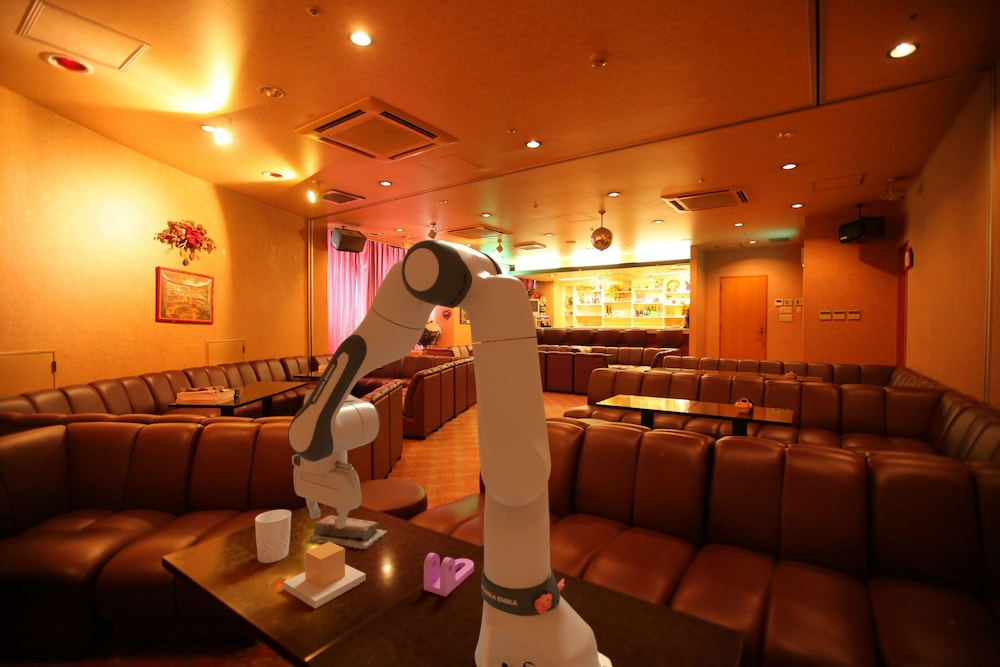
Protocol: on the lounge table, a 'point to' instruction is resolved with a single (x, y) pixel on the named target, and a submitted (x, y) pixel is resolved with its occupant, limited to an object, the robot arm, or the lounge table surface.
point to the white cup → (273, 535)
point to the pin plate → (327, 593)
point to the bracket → (445, 573)
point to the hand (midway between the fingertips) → (327, 522)
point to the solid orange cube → (324, 564)
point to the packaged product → (347, 532)
